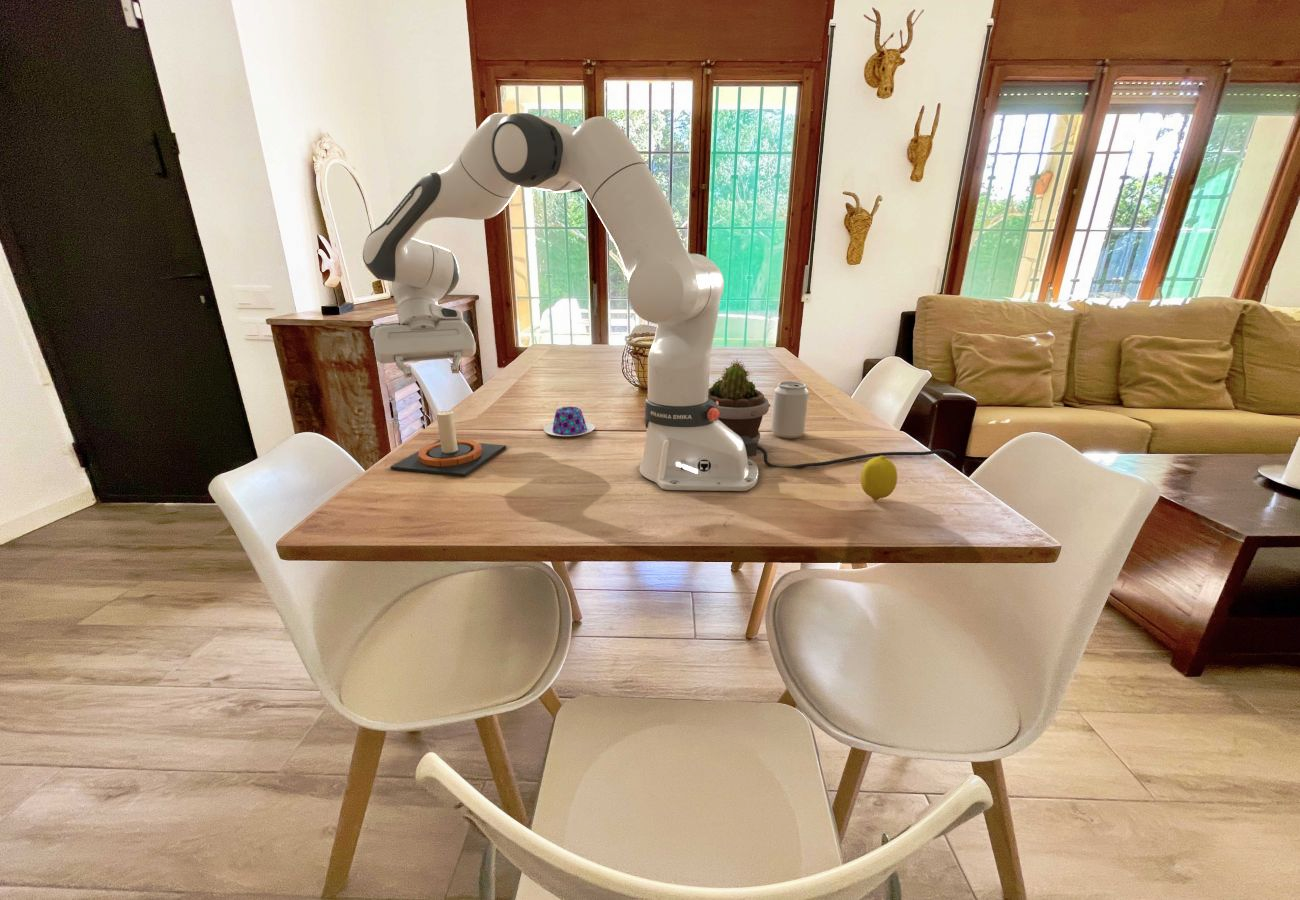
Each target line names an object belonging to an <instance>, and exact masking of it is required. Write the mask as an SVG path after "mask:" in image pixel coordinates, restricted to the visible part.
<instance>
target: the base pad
mask: <svg viewBox="0 0 1300 900" xmlns="http://www.w3.org/2000/svg"><path fill="white" fill-rule="evenodd" d="M456 440H457V444H463V445H467V446H469V447H470V448H471V452H470V453H468V454H465V455H462V456H458V457H452V458H442V459H441V458H431V457H429V452H430V451H431V450H432V449H434V448H437V447H440V446H441V440H440V439H439V440H436V441H435V442H433V443H432V444H428V445H426V446H425V447H423V448H421V449H420V450H418V451H417V452H415V453H413V454H411V455H409V456H407V457H404V459H402V460H400V461H398V462H396V463H394V464H392V465H390V470H393V471H395V470H396V471H403V472H404V471H405V472H416V473H423V474H433V475H435V474H436V475H444V476H453V477H463V478H465V477H467V476H468V475H470V474H471V473H472V472H474V471H475V470H476V469H478V468H479V467H481V466H483V465H484V464H485V463H486V462H488V461H490V460H491V459H492V458H494V457H496V455H498V454H499V453H501V452H502V451H503V450H505V449H506V448H507V446H506V445H505V444H495V443H494V444H493V443H481V442H477V441H474V440H467V439H456Z"/></svg>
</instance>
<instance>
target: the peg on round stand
mask: <svg viewBox="0 0 1300 900" xmlns="http://www.w3.org/2000/svg"><path fill="white" fill-rule="evenodd" d="M436 420H437V426H438V427H437V428H438V432H439V433H438V434H439V440H441V446H440V447H437V448H434V449H432V450H431V451H430V452H429V457H431V458H441V459H442V458H452V457H458V456H462V455H465V454H468V453H470V452H471V448H470V447H469V446H467V445H463V444H457V440H458V439H457V434H456V433H457V432H456V427H455V426H456V425H455V419H454V412H453V411H452V410H441V411H438V412H436Z"/></svg>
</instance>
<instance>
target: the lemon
mask: <svg viewBox="0 0 1300 900" xmlns="http://www.w3.org/2000/svg"><path fill="white" fill-rule="evenodd" d="M897 484H898V471H897V467H896V465H895V463H894V462H893V461H892V460H891V459H889V458H887V457H886V456H876V457H871V459H869V460H867V462H865V464H864V466H863V468H862V470H861V474H860V485H861V489H862V491H863V492H864V493H865V494H866V495H867V496H869V497H871V499H872V501H873V500H874V501H878V500H879V499H884V498H886V497H888V496H891V494H892V493H893V492H894V491H895V488H896V487H897Z"/></svg>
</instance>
